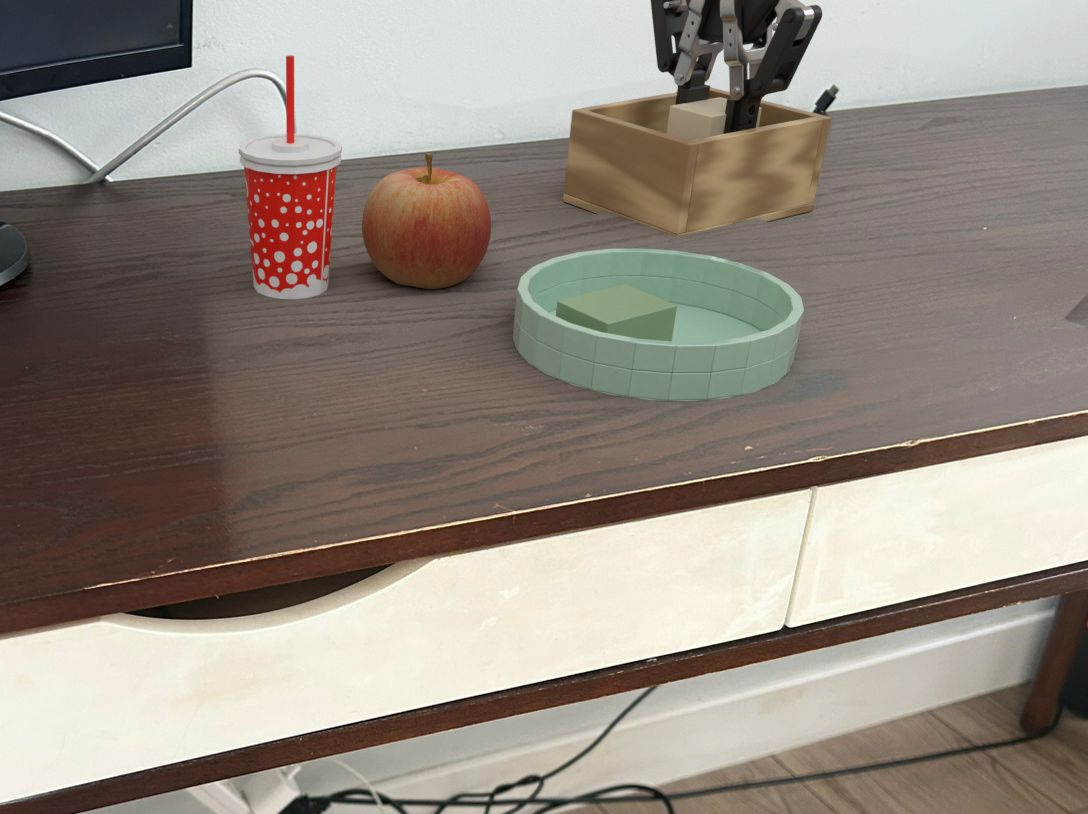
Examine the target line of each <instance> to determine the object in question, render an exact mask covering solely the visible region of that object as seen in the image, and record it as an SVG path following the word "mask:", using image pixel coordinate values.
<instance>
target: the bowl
mask: <svg viewBox="0 0 1088 814" xmlns="http://www.w3.org/2000/svg"><path fill="white" fill-rule="evenodd" d="M625 284H626V285H629V286H631V287H633V288H636V289H638V290H641V291H643V292H646V293H648V294H650V295H653V296H655V297H658V298H660V299H662V300H665V301H667V302H670V303H672V304H675V305H677V310H676V317H675V324H674V330H673V337H672V341H660V340H648V339H637V338H632V337H626V336H621V335H615V334H609V333H604V332H599V331H596V330H593V329H589V328H586V327H582V326H579V325H576V324H572V323H570V322H567V321H565V320H563V319H561V318H559V317H557V316H556V310H557V301H560V300H564V299H568V298H572V297H576V296H580V295H584V294H588V293H592V292H596V291H600V290H604V289H608V288H612V287H617V286H621V285H625ZM804 312H805V308H804V304H803V299H802V296H801V295H800V294H799V293H798V292H797V291H796V290H795V289H794V288H793V287H792V286H791V285H790V284H789V283H787V282H785V281H783V280H781V279H780V278H778V277H776V276H775V275H772V274H771V273H768V272H766V271H764V270H762V269H759V268H755V267H753V266H750V265H747V264H744V263H741V262H738V261H734V260H730V259H726V258H721V257H717V256H714V255H709V254H701V253H694V252H688V251H687V252H686V251H681V250H673V249H672V250H671V249H660V248H659V249H657V248H643V247H642V248H641V247H639V248H638V247H637V248H634V247H633V248H630V247H629V248H603V249H594V250H586V251H577V252H572V253H568V254H564V255H561V256H555V257H552V258H549V259H547V260H545V261H542V262H540V263H538V264H536V265H533V266H531V268H529V269H528V270H527V271H526V272H525V273H523V274H522V275H521V276H520V278H519V281H518V284H517V288H516V295H515V309H514V319H513V332H512V340H513V343H514V347H515V349H516V350H517V352H518V354H519V355H520V356H521V357H522V358H523V359H524V360H525V362H527V363H528V364H530V365H531V366H532V367H534V368H535V369H536V370H539V371H540V372H542V373H543V374H545V375H547V376H550V377H552V378H554V379H556V380H559V381H561V382H564V383H566V384H569V385H572V386H575V387H578V388H581V389H585V390H588V391H592V392H593V391H594V392H596V393H597V392H598V393H602V394H606V395H611V396H617V397H623V398H630V399H636V400H637V399H639V400H647V401H660V402H661V401H662V402H703V401H712V400H713V401H714V400H721V399H722V400H723V399H729V398H734V397H741V396H744V395H747V394H751V393H755V392H758V391H761V390H763V389H766V388H768V387H770V386H773V385H774V384H776V383H777V382H779V381H780V380H781V379H783V378H785V376H787V374H788V372H789V371H790V369H791V367H792V365H793V364H794V361H795V358H796V357H795V356H796V351H797V346H798V342H799V336H800V334H801V333H800V332H801V328H802V322H803V319H804V318H803V317H804Z"/></svg>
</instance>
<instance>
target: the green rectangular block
mask: <svg viewBox="0 0 1088 814" xmlns="http://www.w3.org/2000/svg"><path fill="white" fill-rule="evenodd" d="M676 310H677V305H675V304H672V303H670V302H667V301H665V300H662V299H660V298H658V297H655V296H653V295H650V294H648V293H646V292H643V291H641V290H638V289H636V288H633V287H631V286H629V285H626V284H625V285H621V286H617V287H612V288H608V289H604V290H600V291H596V292H592V293H588V294H584V295H580V296H576V297H572V298H568V299H564V300H560V301H557V310H556V316H557V317H559V318H561V319H563V320H565V321H567V322H570V323H572V324H576V325H579V326H582V327H586V328H589V329H593V330H596V331H599V332H604V333H609V334H615V335H621V336H626V337H632V338H637V339H648V340H660V341H672V337H673V330H674V324H675V317H676Z"/></svg>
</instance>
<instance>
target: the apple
mask: <svg viewBox="0 0 1088 814" xmlns="http://www.w3.org/2000/svg"><path fill="white" fill-rule="evenodd" d="M424 158H425V161H426V166H418V167H413V168H407V169H403V170H400V171H395V172H391V173H389V174H387V175H386V176H384V177H382V178H381V179H380V180H379V181H378V182H377V183H376V184H375V185H374V186H373V188H372V189H371V191H370V192H369V194H368V197H366V201H365V204H364V208H363V212H362V217H361V235H362V240H363V243H364V247H365V250H366V253H367V254H368V257H369V258H370V260H371V262H372V263H373V265H374V266H375V268H377V270H378V271H379V272H380V273H381V274H383V275H384V276H385V277H386V278H387V279H389V280H391V281H392V282H393V283H395V284H397V285H400V286H404V287H405V286H406V287H414V288H419V289H424V290H438V289H445V288H450V287H452V286H454V285H455V286H456V285H457V284H459V283H461V282H463V281H464V280H466V279H467V278H469V277H470V276H471V275H472V274H474V272H475V271H476V270H477V269H478V267H480V265H481V263H482V262H483V260H484V258H485V256H486V253H487V251H488V249H489V246H490V245H489V244H490V242H491V234H492V217H491V211H490V208H489V204H488V201H487V199H486V197H485V195H484V192H483V191H482V190H481V188H480V187H479V185H477V184H476V182H474V181H473V180H472V179H470V178H468V177H466V176H465V175H461V174H458V173H457V172H454V171H451V170H446V169H442V168H437V167H433V166H432V165H433V154H432V153H430V152H426V153H425V154H424Z"/></svg>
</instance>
